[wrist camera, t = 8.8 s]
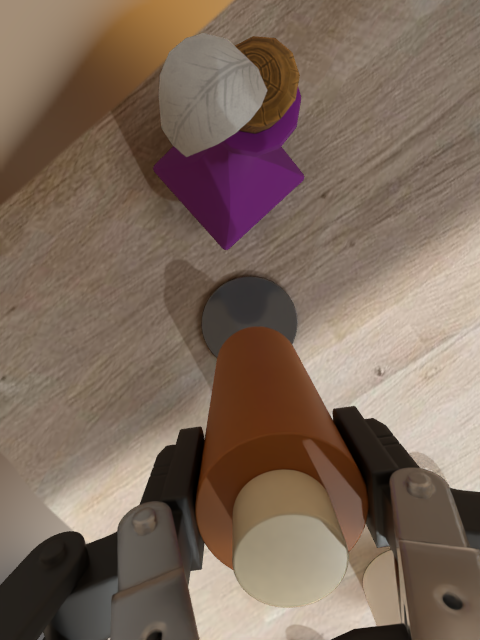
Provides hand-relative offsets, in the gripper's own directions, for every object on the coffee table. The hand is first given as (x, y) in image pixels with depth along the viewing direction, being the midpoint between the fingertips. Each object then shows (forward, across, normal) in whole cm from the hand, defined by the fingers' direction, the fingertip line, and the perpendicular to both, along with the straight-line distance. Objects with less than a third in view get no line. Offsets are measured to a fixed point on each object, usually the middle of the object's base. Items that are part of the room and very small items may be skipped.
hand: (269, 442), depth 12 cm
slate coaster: (+18, 0, 0) cm, 18 cm away
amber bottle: (+8, 0, 0) cm, 8 cm away
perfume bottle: (+18, 0, -11) cm, 21 cm away
